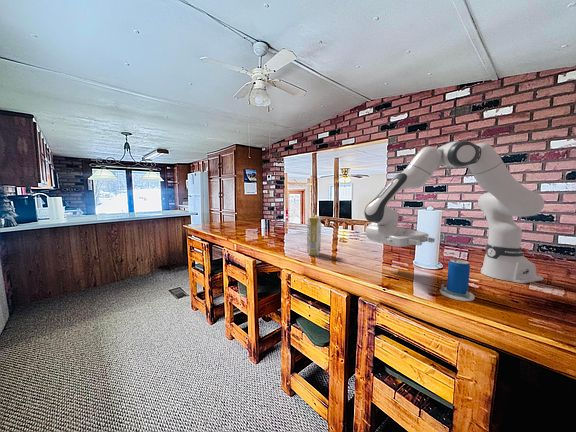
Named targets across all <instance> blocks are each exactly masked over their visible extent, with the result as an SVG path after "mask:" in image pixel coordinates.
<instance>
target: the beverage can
mask: <svg viewBox="0 0 576 432" xmlns="http://www.w3.org/2000/svg"><path fill="white" fill-rule="evenodd" d="M470 273H471V265H470V262H469V261H467V260H463V259H457V258H452V259H449V262H448V265H447V277H446V287H447V290H448V291H449V292H450V293H452V294H455V295H465V294H466V291H469V283H470Z"/></svg>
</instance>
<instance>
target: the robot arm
mask: <svg viewBox="0 0 576 432" xmlns="http://www.w3.org/2000/svg"><path fill="white" fill-rule="evenodd" d="M440 167H445V168H463V167H468V169H469V170H470V173H471V174H472V176H473V177H474V180H475V181H476V182H477V184H478V185H479V187H480V189H482V190H483V191H486V192H485V193H483V194H482V195H480V196H479V198H478V200H477V205H478V208H479V209H480V210H481V212H482V213H483V214H484V216H485V219H486V221H487V226H488V237H487V243H486V246H485V252H486V253H485V255H484V259H483V264H482V266H481V267H480V273H481V274H482V275H484V276H486V277H489V278H493V279H495V280H496V279H498V280H502V281H507V282H508V281H509V282H514V283H518V284H527V283H533V282H539V281H544V277H542V276H541V275H539V274H537V267H536V264H534V263H533V262H531V261H530V260H529V259H527V258H526V257H525V255H524V253H525V254H529V252H530V249H529V248H527V247H526V248H525V247H521V246H522V239H523V238H522V237H523V230H522V229H521V227H520V226H519V225H517V223H516V222H515V220H514V218H513V217H518V218H523V217H534V216H537V215H538V214H540V213H541V212H542V211H543V209H544V208H545V200H544V197H543V196H542V195H541V194H540V193H537V192H535V191H533V190H531V189H529V188H527V187H526V186H524V185H523V184H522V183H520V182H519V181H518V180H517V179H516V178H515V177H514V176H513V175H512V174H511V172H510V171H509V169H508V167H507V166H506V164H505V163H504V160H502V158H501V156H500V155H499V154H498V152H497V151H496V149H495V148H493V146H492V145H491V144H489V143H488V142H480V143H474V142H471V141H469V140H456V141H455V140H454V141H451V142H447V143H444V144H441V145H439V146H438V147H434V146H424V147H422V149H420V150H419V151H418V153H416V155H415V156H414V157H413V158H412V160H411V161H410V162H409V163H408V165H407V166H406V168H404V169H403V170H402V171H401V172H400V173H397V174H396V175H394V176H393V177H392V178H391V179H390V180H389V182H387V184H386V185H384V187H383V188H382V189H381V191H380V192H379V193H378V194H377V195H376V197H374V198H373V199H372V200H371V201H369V202H368V204H366V206H365V208H364V212H363V214H364V218H365V220H366V221H368V222H369V223H370V224H368V225H367V226H366V227H365V236H366V238H367V239H368V240H370V241H372V242H375V243H378V244H385V245H388V246H392V247H400V248H401V247H402V248H403V247H409V246H418V247H419V246H422V245H423V243H426V242H428V243H431V244H432V243H435V241H436V239H435V237H430V236H429V233H427V232H424V231H423V232H422V231H419V230H413V229H411V228H408V227H405V228H404V227H398V223H399V220H400V219H399V218H400V215H399V213H398V211H397V210H395V209H393V208H392V207H389V206H388V204H390V202H391V201H392V199H394V198H395V196H396V195H397V194H398V193H399V192H401V191H402V190H407V189H408V190H409V189H413V190H414V189H420V188H422V187H423V186H425V184H427V182H428V181H429V180H430V179H431V177H432V176H433V174H434V173H435V171H436V170H438V169H439V168H440Z"/></svg>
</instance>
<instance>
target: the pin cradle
mask: <svg viewBox="0 0 576 432" xmlns="http://www.w3.org/2000/svg"><path fill="white" fill-rule="evenodd" d="M440 285H441V287H440V289H439V293H440V294H441V295H442V296H444V297H446V298H449V299H452V300H456V301H460V302H461V301H462V302H472V301H475V299H476V298H475V296H476V295H474V294H473V293H472V292H470V291H469V290H468V291H466V294H465V295H455V294H452V293H450V292H449V291H448V290H447V286H446V287H445V284H444V283H441V284H440Z"/></svg>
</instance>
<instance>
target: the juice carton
mask: <svg viewBox="0 0 576 432" xmlns="http://www.w3.org/2000/svg"><path fill="white" fill-rule="evenodd" d="M306 225H307V228H306V230H307V234H306V235H307V237H306V240H307V242H306V250H307V256H315V257H318V256H320V253H321V244H322V243H321V242H322V241H321V238H322V237H321V236H322V235H321V234H322V232H321V231H322V230H321V229H322V221H321V217H320V215H316V214H315V215H314V216H309V217H308V219H307V224H306Z"/></svg>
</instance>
